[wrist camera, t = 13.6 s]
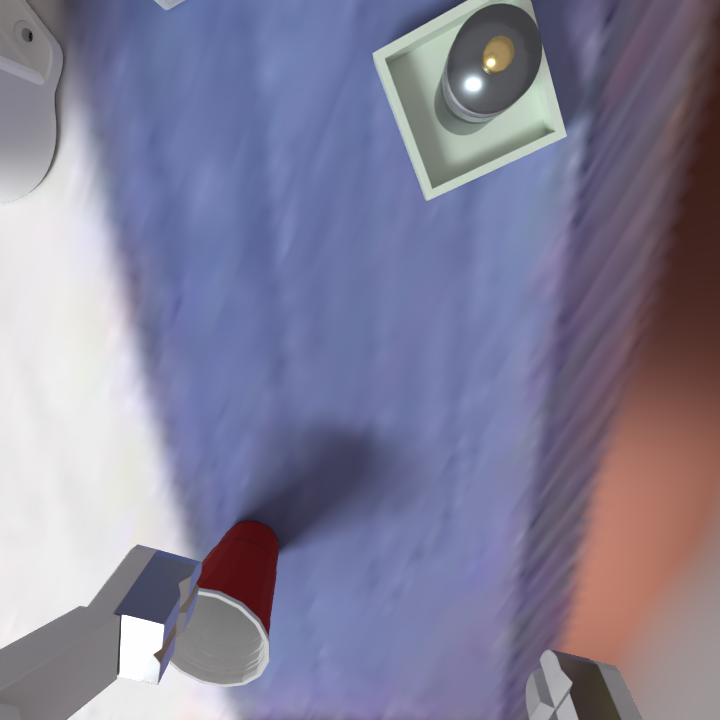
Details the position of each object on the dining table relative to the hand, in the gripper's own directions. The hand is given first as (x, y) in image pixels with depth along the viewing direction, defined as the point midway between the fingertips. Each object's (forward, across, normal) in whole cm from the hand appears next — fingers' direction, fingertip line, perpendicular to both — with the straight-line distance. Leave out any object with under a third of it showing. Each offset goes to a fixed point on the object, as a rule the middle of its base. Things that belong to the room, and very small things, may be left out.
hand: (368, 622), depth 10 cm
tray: (+29, -1, -16) cm, 33 cm away
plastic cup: (+29, +8, +29) cm, 42 cm away
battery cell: (+28, -1, -16) cm, 33 cm away
